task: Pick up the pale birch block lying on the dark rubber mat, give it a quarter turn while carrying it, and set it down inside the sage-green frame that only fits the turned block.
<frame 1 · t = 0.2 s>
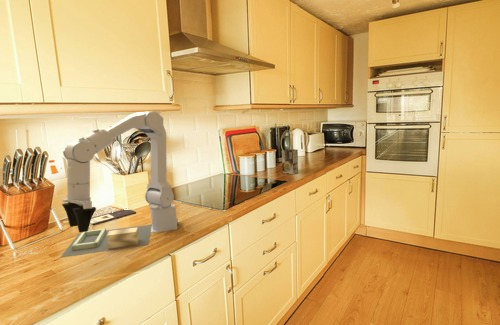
hand: (78, 228, 87), 10 cm above the countertop, tool pointing down, fingers open, 7 cm apart
rubber mat: (111, 240, 103), on the countertop
sage frame: (90, 242, 103), resting on rubber mat
chocolate bar: (111, 218, 128), on the countertop
coffee box: (290, 173, 202), on the countertop
birch block: (124, 244, 99), resting on rubber mat
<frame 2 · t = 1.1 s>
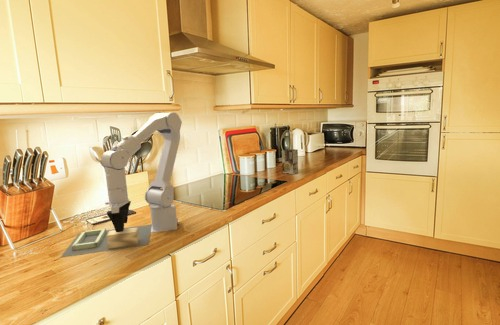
hand: (121, 227, 98), 6 cm above the countertop, tool pointing down, fingers open, 7 cm apart
nothing on the countertop moved.
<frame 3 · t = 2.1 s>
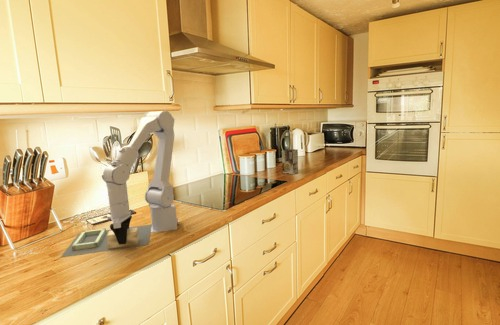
hand: (123, 240, 98), 2 cm above the countertop, tool pointing down, fingers closed on birch block, 4 cm apart
birch block: (124, 244, 99), resting on rubber mat, touching gripper
everything else where it was.
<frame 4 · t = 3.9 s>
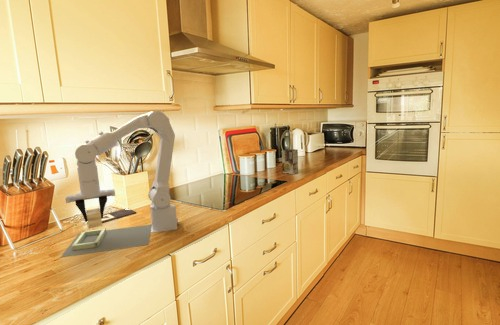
hand: (94, 219, 100), 9 cm above the countertop, tool pointing down, fingers closed on birch block, 4 cm apart
birch block: (94, 223, 100), point 7 cm above the countertop, touching gripper
everything else where it was.
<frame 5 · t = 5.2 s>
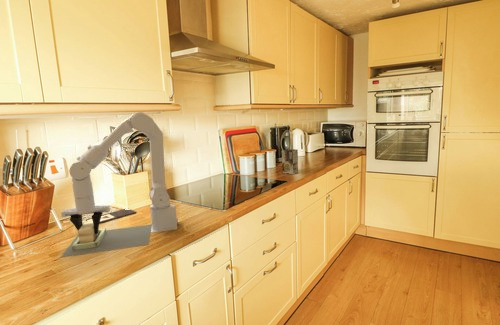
hand: (89, 234, 102), 3 cm above the countertop, tool pointing down, fingers closed on birch block, 4 cm apart
birch block: (89, 237, 102), point 2 cm above the countertop, touching gripper
everything else where it was.
when the fingers open (3 cm above the countertop, at t = 6.0 s): birch block drops 1 cm, resting on rubber mat.
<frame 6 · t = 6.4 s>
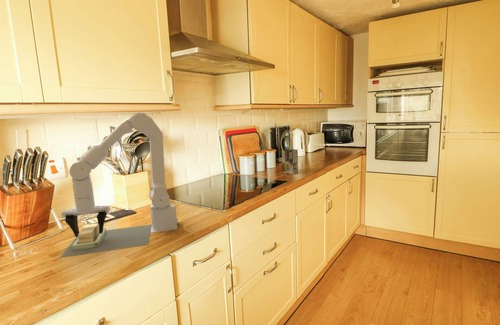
hand: (89, 234, 102), 3 cm above the countertop, tool pointing down, fingers open, 7 cm apart
birch block: (90, 240, 102), resting on rubber mat
everything else where it was.
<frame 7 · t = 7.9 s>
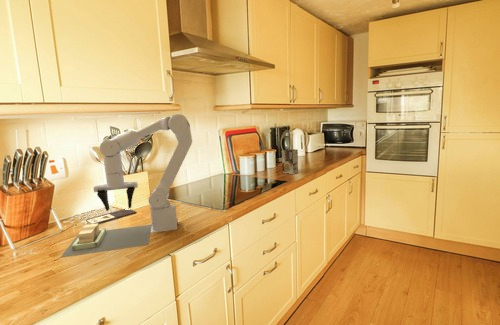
hand: (119, 208, 108), 9 cm above the countertop, tool pointing down, fingers open, 7 cm apart
nothing on the countertop moved.
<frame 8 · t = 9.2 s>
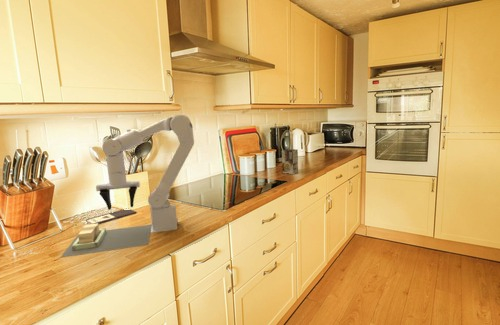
hand: (121, 207, 109), 9 cm above the countertop, tool pointing down, fingers open, 7 cm apart
nothing on the countertop moved.
at the end: birch block 0.1 cm off-centre on the sage frame, point 0.5 cm above the sage frame's base; birch block tilted 0°; the gripper is holding nothing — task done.
